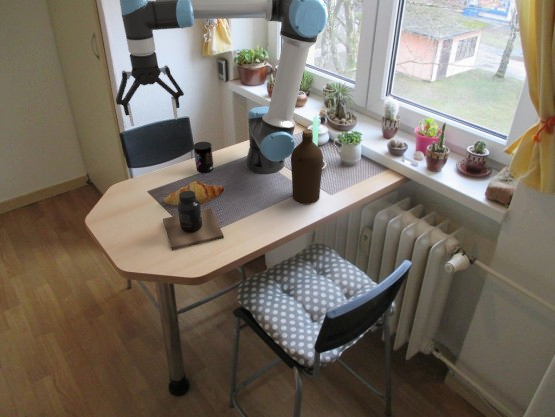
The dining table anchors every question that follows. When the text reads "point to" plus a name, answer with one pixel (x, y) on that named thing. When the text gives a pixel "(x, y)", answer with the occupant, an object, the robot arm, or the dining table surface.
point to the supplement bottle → (189, 212)
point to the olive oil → (306, 170)
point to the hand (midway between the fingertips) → (154, 121)
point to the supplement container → (203, 157)
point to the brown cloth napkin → (185, 239)
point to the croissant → (196, 193)
